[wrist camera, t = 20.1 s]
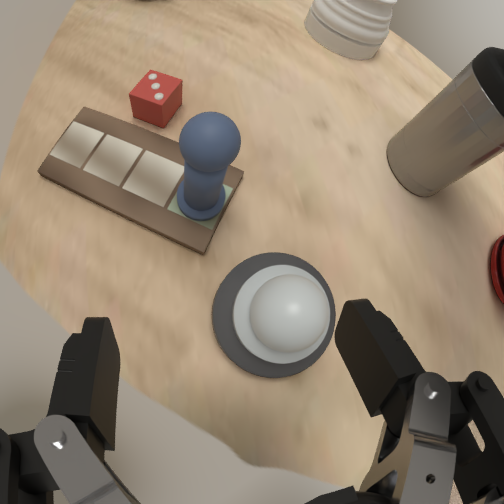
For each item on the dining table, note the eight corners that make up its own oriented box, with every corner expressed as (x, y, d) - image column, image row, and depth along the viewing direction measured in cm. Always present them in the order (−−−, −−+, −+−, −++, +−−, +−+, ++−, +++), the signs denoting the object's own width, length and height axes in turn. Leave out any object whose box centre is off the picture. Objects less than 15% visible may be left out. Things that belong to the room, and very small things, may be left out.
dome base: (241, 238, 30) (244, 231, 28) (341, 285, 31) (350, 282, 29) (192, 346, 27) (192, 348, 25) (301, 389, 28) (308, 393, 26)
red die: (152, 92, 32) (150, 69, 28) (181, 103, 32) (182, 79, 28) (133, 116, 31) (128, 93, 27) (163, 128, 31) (161, 104, 27)
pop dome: (253, 253, 27) (271, 234, 22) (333, 290, 28) (367, 281, 22) (216, 339, 25) (223, 344, 19) (301, 373, 26) (330, 385, 20)
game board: (85, 111, 30) (83, 106, 29) (242, 176, 31) (244, 171, 30) (40, 175, 27) (37, 170, 26) (203, 254, 29) (203, 252, 28)
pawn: (190, 170, 29) (198, 88, 18) (231, 189, 30) (260, 115, 18) (168, 208, 28) (162, 136, 17) (211, 229, 28) (230, 167, 17)
